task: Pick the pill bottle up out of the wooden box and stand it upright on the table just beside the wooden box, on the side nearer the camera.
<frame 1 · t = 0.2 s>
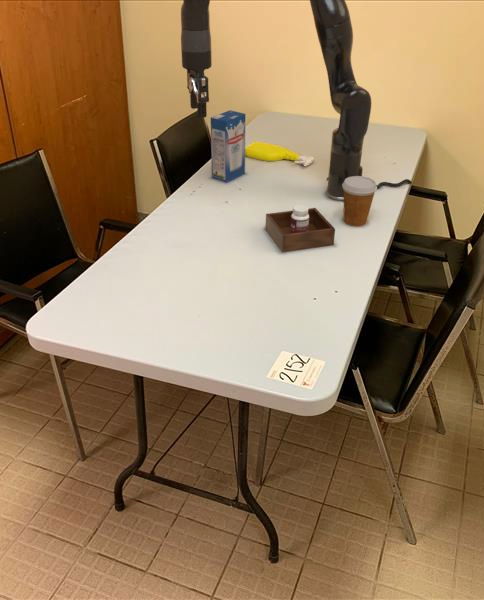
hand: (198, 112, 159), 29 cm above the table, tool pointing down, fingers open, 8 cm apart
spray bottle: (279, 159, 212), on the table
wooden box: (298, 237, 163), on the table
disposable coffee cup: (355, 222, 171), on the table
pill bottle: (298, 236, 163), resting on wooden box
milk carton: (228, 176, 199), on the table
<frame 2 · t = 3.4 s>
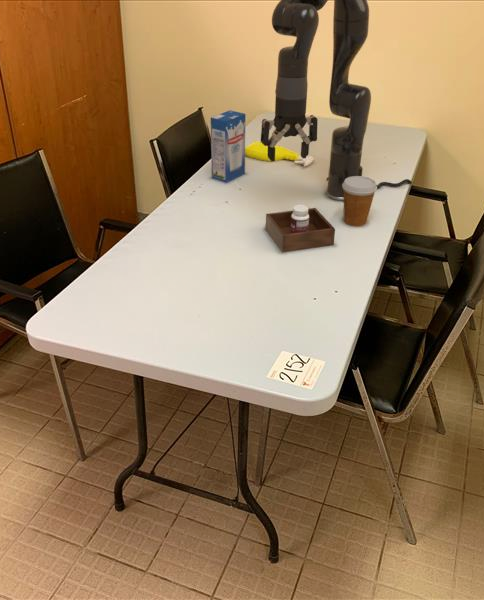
hand: (287, 158, 153), 21 cm above the table, tool pointing down, fingers open, 8 cm apart
nothing on the table moved.
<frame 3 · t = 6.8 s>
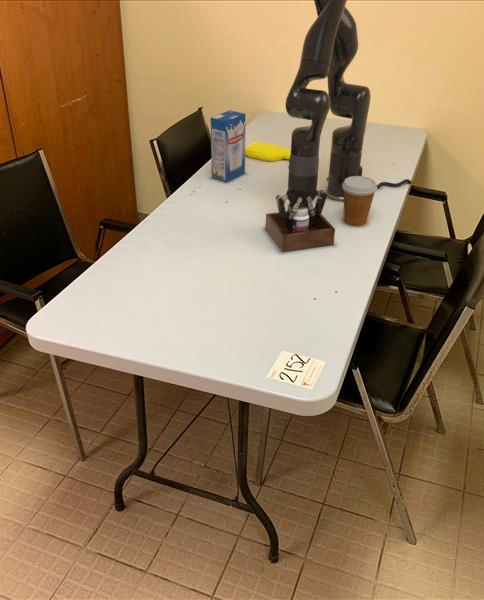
hand: (299, 229, 162), 2 cm above the table, tool pointing down, fingers closed on pill bottle, 4 cm apart
pill bottle: (298, 236, 163), resting on wooden box, touching gripper
everything else where it was.
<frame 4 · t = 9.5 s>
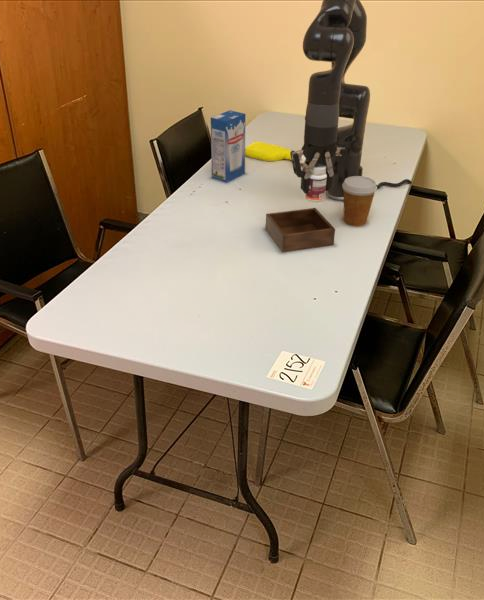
hand: (315, 190, 146), 18 cm above the table, tool pointing down, fingers closed on pill bottle, 4 cm apart
pill bottle: (314, 199, 147), point 15 cm above the table, touching gripper
everything else where it was.
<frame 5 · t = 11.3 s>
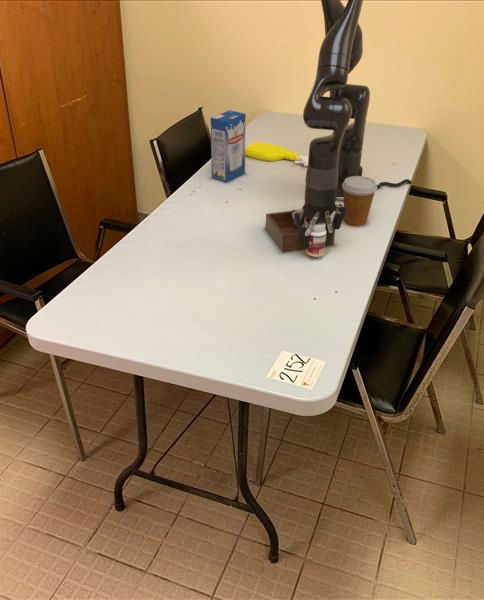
hand: (315, 245, 152), 3 cm above the table, tool pointing down, fingers closed on pill bottle, 4 cm apart
pill bottle: (315, 253, 153), point 1 cm above the table, touching gripper
everything else where it was.
when the fingers open (2 cm above the table, at t = 12.2 s): pill bottle stays where it is, on the table.
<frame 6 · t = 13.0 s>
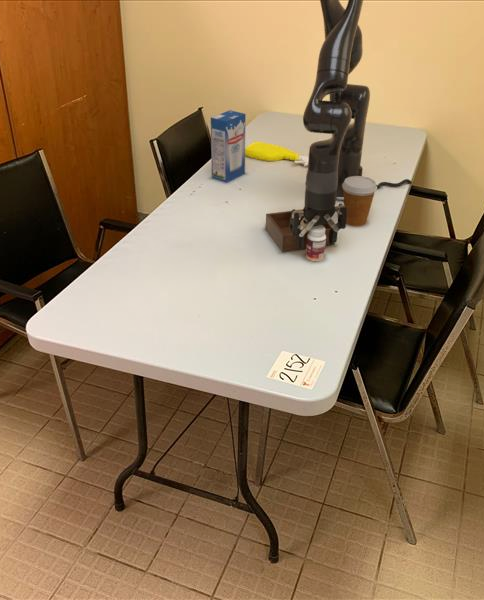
hand: (316, 245, 152), 3 cm above the table, tool pointing down, fingers open, 8 cm apart
pill bottle: (314, 257, 154), on the table
everything else where it was.
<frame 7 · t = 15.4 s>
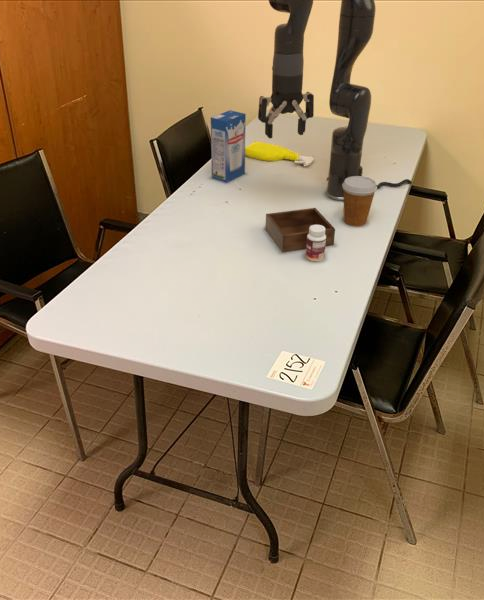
hand: (285, 135, 156), 25 cm above the table, tool pointing down, fingers open, 8 cm apart
nothing on the table moved.
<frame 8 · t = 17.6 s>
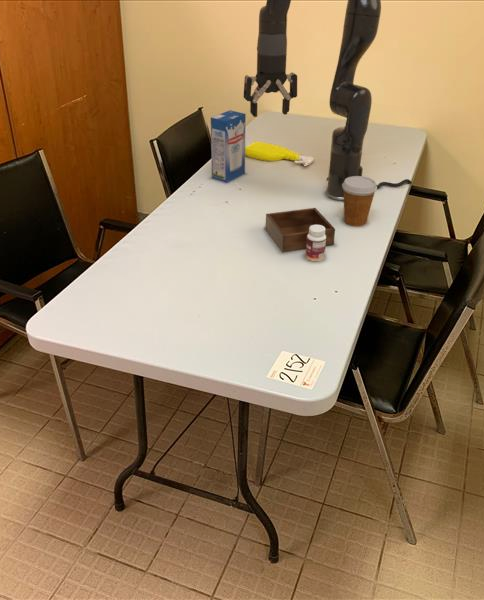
hand: (269, 114, 161), 28 cm above the table, tool pointing down, fingers open, 8 cm apart
nothing on the table moved.
at the end: pill bottle inside the target area (0.2 cm from its centre), on the table; pill bottle tilted 0°; the gripper is holding nothing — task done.
